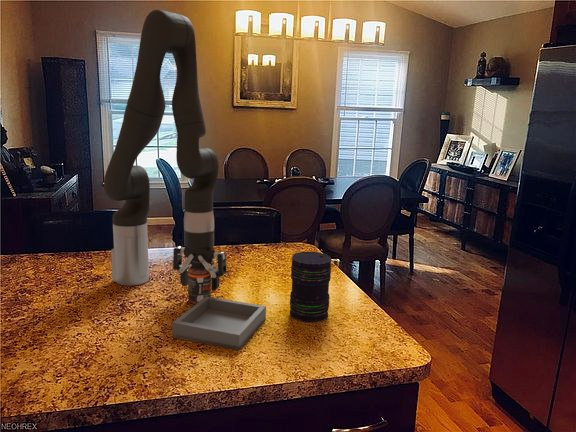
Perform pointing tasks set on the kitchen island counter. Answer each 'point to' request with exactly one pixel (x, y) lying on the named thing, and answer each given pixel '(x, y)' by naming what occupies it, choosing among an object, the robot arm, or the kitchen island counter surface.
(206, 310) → the tray
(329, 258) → the dark cylinder
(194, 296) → the supplement bottle
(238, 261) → the kitchen island counter surface
